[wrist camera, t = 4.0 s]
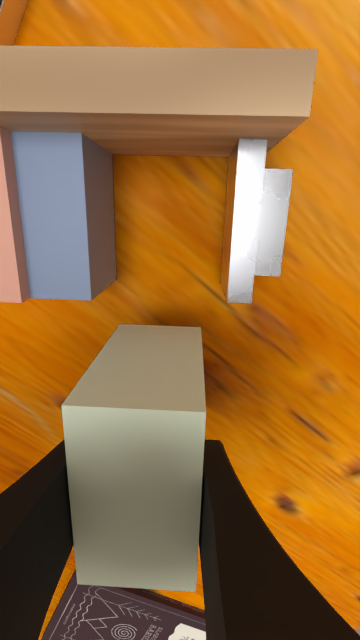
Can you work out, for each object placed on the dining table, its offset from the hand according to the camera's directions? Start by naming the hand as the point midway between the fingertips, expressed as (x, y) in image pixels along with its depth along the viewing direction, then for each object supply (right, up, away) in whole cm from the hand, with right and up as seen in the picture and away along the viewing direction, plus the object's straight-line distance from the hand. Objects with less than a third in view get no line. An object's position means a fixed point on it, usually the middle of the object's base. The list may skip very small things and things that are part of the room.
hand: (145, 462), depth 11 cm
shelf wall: (-1, +13, +5) cm, 14 cm away
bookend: (+4, +9, +6) cm, 12 cm away
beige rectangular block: (0, +2, +4) cm, 5 cm away
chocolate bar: (0, -21, +16) cm, 27 cm away
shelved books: (-5, +10, +6) cm, 12 cm away
